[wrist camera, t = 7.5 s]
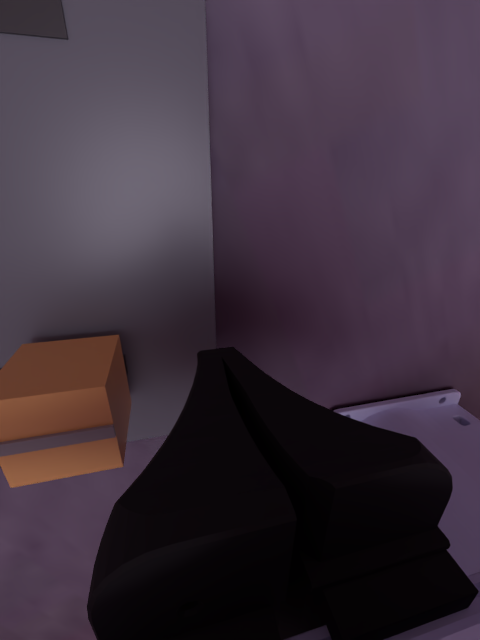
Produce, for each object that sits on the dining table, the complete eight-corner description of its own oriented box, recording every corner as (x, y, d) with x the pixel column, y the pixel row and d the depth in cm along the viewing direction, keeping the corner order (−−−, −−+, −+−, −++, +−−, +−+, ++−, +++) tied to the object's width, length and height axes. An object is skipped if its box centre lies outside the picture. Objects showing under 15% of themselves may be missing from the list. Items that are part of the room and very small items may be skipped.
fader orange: (119, 334, 10) (104, 388, 8) (131, 402, 12) (122, 469, 9) (22, 344, 10) (-32, 406, 7) (46, 414, 11) (9, 491, 8)
